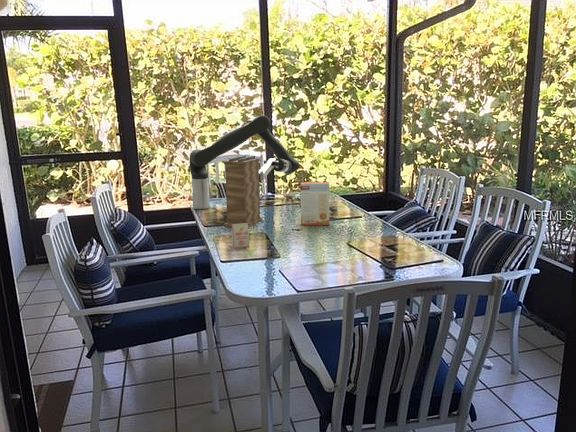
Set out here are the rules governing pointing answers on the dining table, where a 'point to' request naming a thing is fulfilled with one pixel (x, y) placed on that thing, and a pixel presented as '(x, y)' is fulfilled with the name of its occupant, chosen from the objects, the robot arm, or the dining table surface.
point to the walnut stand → (242, 191)
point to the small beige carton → (240, 235)
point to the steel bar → (266, 169)
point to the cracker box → (314, 203)
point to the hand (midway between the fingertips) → (268, 163)
